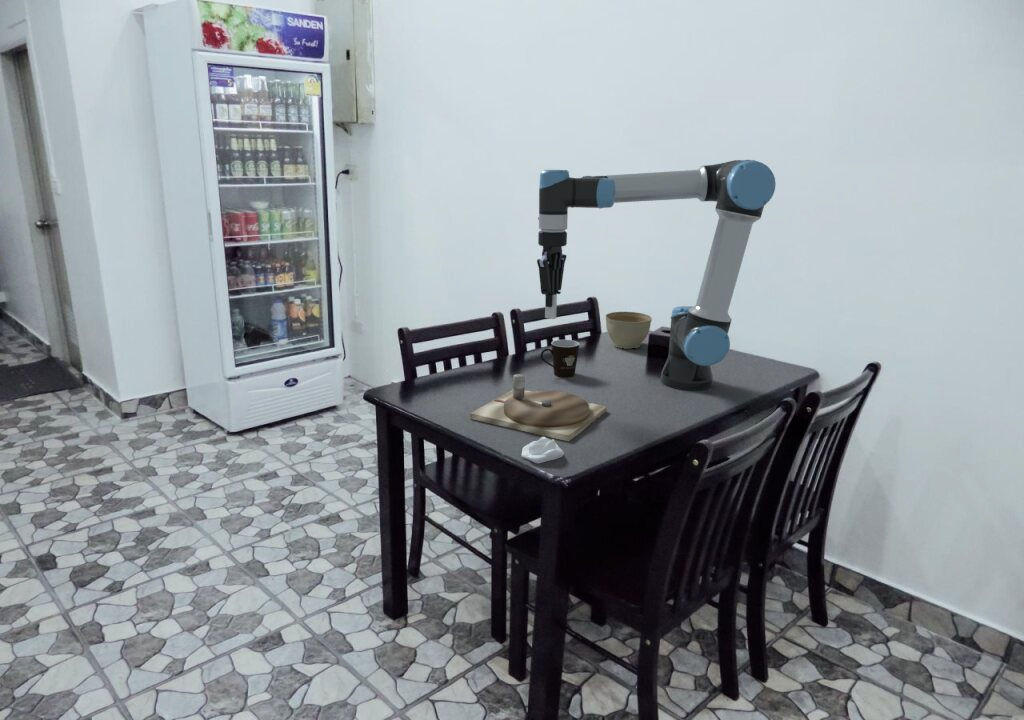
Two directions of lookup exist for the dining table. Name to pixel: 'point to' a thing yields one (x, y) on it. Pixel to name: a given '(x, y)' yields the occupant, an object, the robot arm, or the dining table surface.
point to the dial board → (496, 416)
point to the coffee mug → (563, 357)
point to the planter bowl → (627, 328)
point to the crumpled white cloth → (542, 450)
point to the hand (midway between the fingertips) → (550, 317)
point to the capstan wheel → (544, 406)
